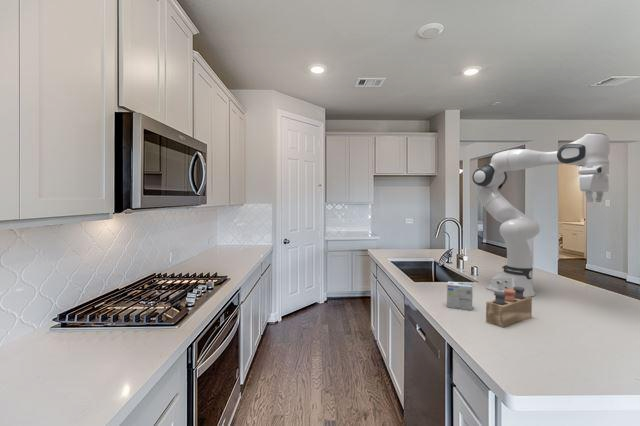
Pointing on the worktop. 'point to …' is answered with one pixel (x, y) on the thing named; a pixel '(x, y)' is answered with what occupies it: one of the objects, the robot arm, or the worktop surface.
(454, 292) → the light bulb box
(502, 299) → the plug near
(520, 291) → the plug far
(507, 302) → the oak socket block
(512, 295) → the plug mid
